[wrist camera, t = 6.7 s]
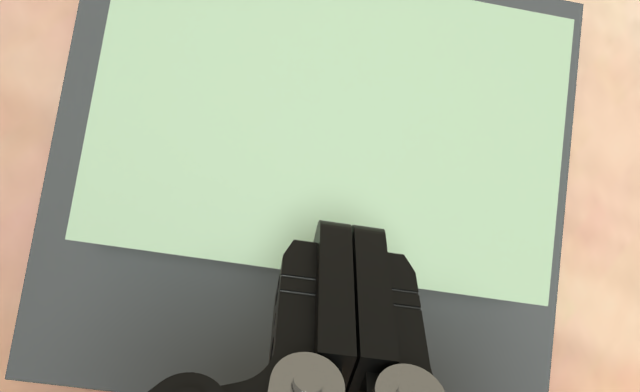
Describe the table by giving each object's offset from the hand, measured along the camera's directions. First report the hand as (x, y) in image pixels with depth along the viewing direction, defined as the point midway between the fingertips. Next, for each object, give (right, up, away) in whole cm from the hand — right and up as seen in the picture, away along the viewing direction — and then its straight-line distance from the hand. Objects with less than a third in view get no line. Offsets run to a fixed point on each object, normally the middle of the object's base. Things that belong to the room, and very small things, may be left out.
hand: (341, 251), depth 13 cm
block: (-1, -1, +5) cm, 5 cm away
